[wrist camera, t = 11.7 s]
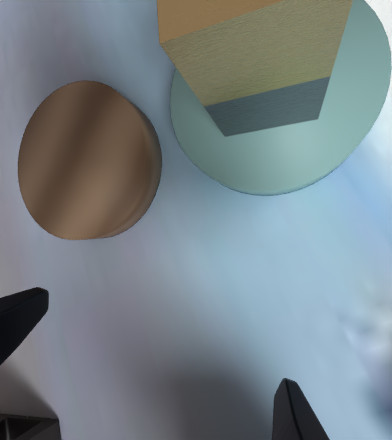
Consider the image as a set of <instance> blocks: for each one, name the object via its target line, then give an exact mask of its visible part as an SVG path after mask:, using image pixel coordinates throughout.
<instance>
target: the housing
mask: <svg viewBox="0 0 392 440" xmlns="http://www.w3.org/2000/svg"><path fill="white" fill-rule="evenodd" d="M352 2H353V0H157V11H158V28H159V44H160V45H161V46H162V48H163V49H164V51H165V52H166V54H167V55H168V56H169V58H170V59H171V61H172V62H173V64H174V65H175V66H176V68H177V69H178V71H179V72H180V74H181V75H182V76H183V78H184V79H185V81H186V82H187V84H188V85H189V86H190V88H191V89H192V91H193V92H194V94H195V95H196V96H197V98H198V99H199V101H200V102H201V104H202V105H203V106H204V108H205V109H206V111H207V112H208V113H209V115H210V116H211V118H212V119H213V121H214V122H215V123H216V125H217V126H218V128H219V129H220V131H221V132H222V133H223V135H224V136H225V137H228V136H233V135H238V134H243V133H249V132H254V131H259V130H264V129H270V128H275V127H280V126H285V125H291V124H296V123H301V122H306V121H312V120H317V119H318V118H319V115H320V111H321V108H322V104H323V101H324V98H325V94H326V91H327V87H328V84H329V81H330V77H331V74H332V70H333V67H334V64H335V60H336V57H337V53H338V50H339V47H340V43H341V40H342V36H343V33H344V30H345V26H346V23H347V19H348V16H349V13H350V9H351V6H352Z"/></svg>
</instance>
